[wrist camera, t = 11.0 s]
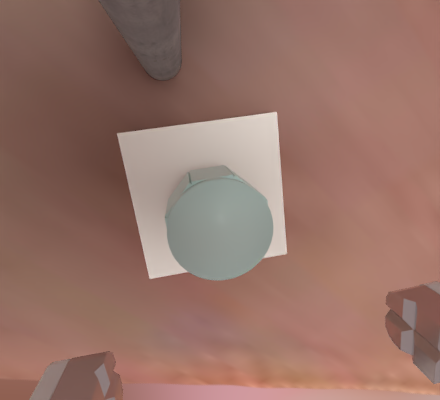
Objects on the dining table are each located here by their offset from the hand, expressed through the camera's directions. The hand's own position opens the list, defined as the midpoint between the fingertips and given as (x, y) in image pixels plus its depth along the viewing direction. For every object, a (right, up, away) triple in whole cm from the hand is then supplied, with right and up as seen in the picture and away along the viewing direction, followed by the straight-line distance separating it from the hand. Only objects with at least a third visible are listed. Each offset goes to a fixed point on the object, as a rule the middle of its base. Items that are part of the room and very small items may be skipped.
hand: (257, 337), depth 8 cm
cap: (-2, +3, +13) cm, 14 cm away
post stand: (-2, +4, +17) cm, 18 cm away
